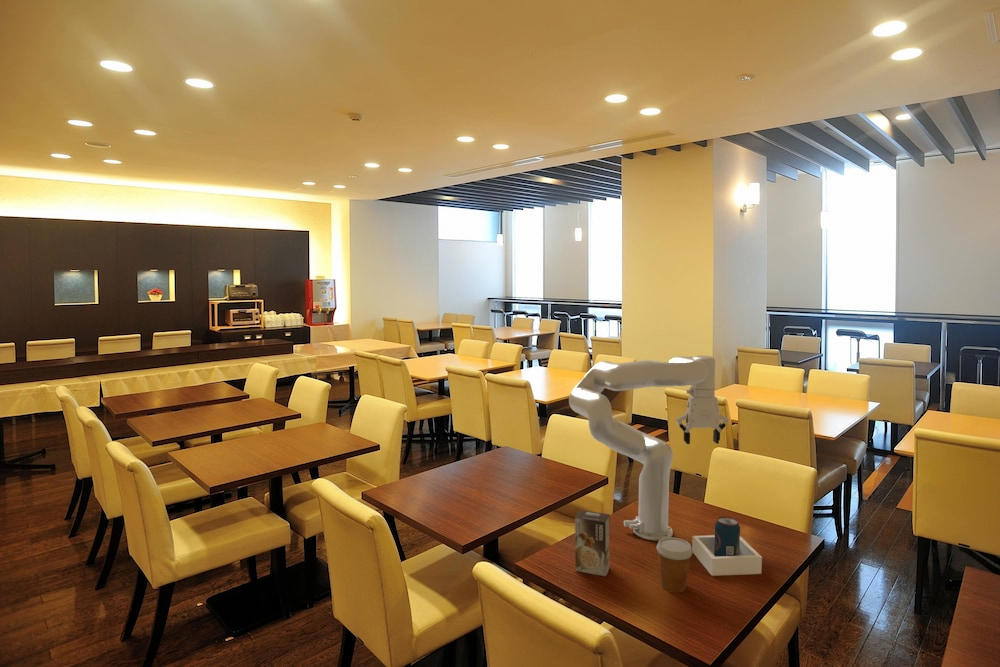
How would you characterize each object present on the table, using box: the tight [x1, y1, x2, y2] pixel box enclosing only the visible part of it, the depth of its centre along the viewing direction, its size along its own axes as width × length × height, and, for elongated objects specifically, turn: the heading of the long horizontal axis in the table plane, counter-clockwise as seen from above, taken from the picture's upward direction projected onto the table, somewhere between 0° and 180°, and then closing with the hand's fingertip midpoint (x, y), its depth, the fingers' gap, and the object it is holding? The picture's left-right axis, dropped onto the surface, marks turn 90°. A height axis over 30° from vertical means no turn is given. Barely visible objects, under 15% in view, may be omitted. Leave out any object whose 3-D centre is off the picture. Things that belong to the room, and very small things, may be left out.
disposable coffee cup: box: [656, 537, 694, 593], centre depth 159 cm, size 10×10×12 cm
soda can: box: [714, 516, 741, 557], centre depth 173 cm, size 7×7×12 cm
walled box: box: [691, 534, 763, 577], centre depth 173 cm, size 14×14×5 cm
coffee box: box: [574, 509, 610, 577], centre depth 169 cm, size 9×6×16 cm
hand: (701, 442), depth 197 cm, fingers open, 9 cm apart
